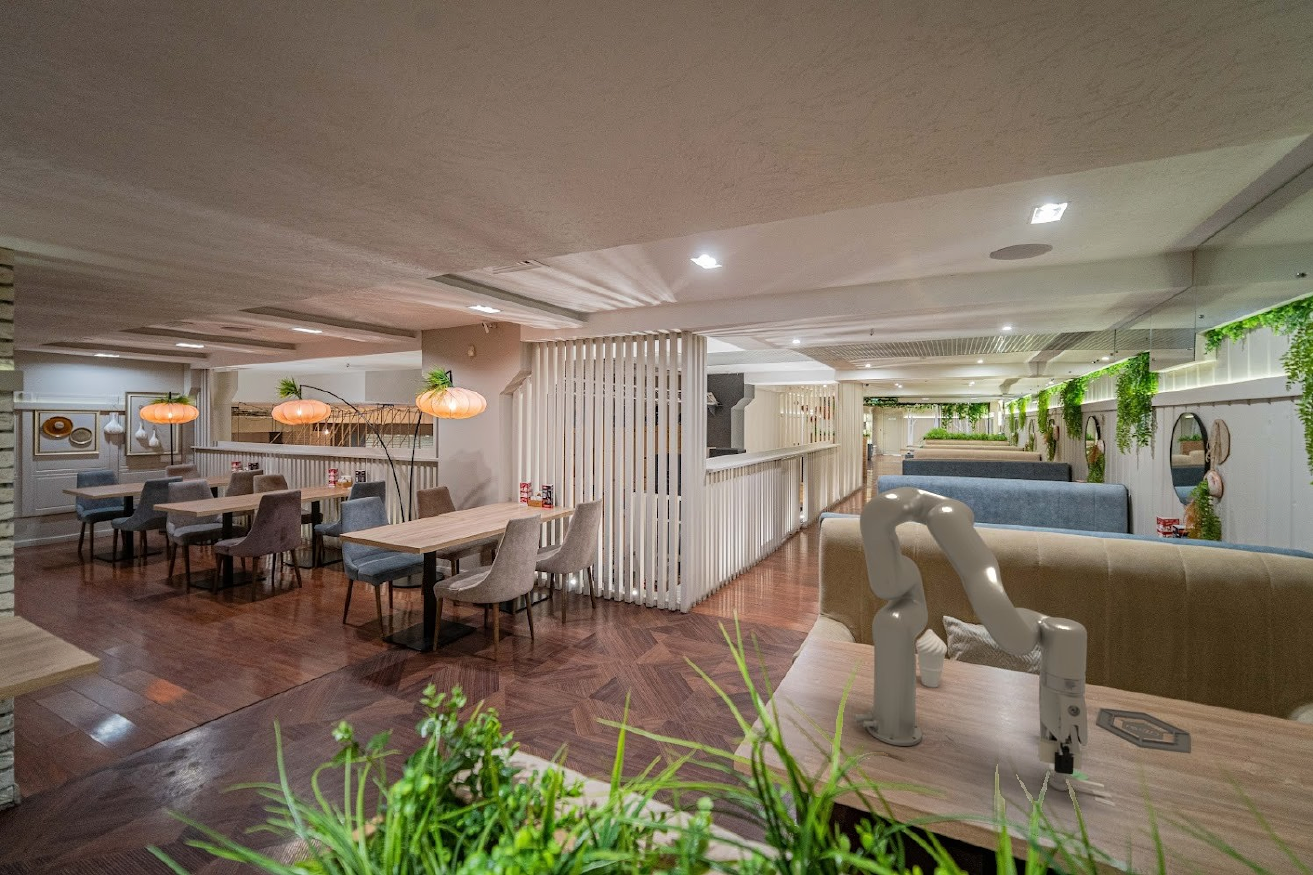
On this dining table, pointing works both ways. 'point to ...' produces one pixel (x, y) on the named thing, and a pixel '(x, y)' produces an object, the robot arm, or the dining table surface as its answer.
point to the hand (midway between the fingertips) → (1059, 766)
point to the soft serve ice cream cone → (930, 658)
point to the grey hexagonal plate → (1179, 736)
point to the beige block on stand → (1057, 781)
